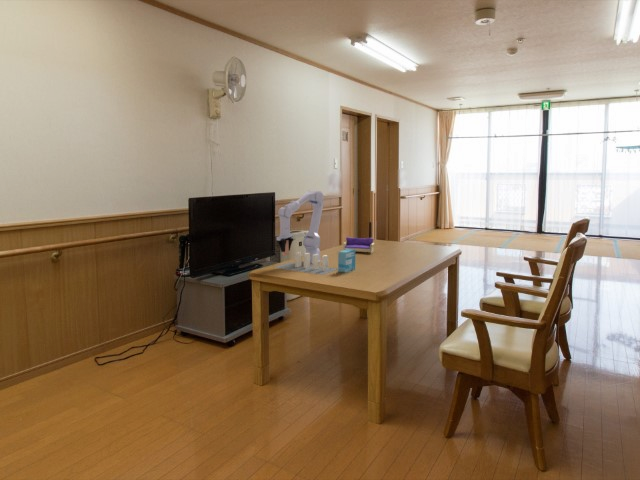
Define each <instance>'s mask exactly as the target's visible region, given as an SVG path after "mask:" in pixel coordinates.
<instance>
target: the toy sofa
mask: <svg viewBox="0 0 640 480" xmlns="http://www.w3.org/2000/svg"><path fill="white" fill-rule="evenodd" d="M345 240H346V241H344V242H342V245H343V250H346V249H352V250H355V252H366V253H367V252H368V253H370V255H371V254H373V253H374V251H375V249H374V246H375V242H374V238H373V237H365V238H361V237H351V236H347V237H346V238H345Z"/></svg>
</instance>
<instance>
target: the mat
mask: <svg viewBox="0 0 640 480" xmlns="http://www.w3.org/2000/svg"><path fill="white" fill-rule="evenodd" d="M272 268H273V269H279V270H287V271H293V272H300V273H309V274H315V275H321V276H324V275H326V274H329V273H332V272H334V271H338V268H332V267H328V270H326V271H321V266H319V269H316V270H312V265H311V264H310V268H307V269H305V268H304V263H302V266H301V267H295V262H286V263H284V264H281V265H277V266H274V267H272Z"/></svg>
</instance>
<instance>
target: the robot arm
mask: <svg viewBox="0 0 640 480" xmlns="http://www.w3.org/2000/svg"><path fill="white" fill-rule="evenodd" d="M324 198H325V195H324V193H323V192H322V191H321V190H318V191H317V190H308V191H306V192H305V193H304V194H303V195H302V196H300V198H298V199H297V200H290V202H289V203H288V204H285V205H284V207H283V206H282V207H280V208H279V209H278V212H277V215H278V217H279V223H280V225H279V228H280V230H279V231H280V232H279V233H280V234H279V235H278V236H276V241H277V244H278V246H279V248H280V251H281V253H282V252H285V246H286V242H287V241H286V240H289V252H290V250H291V246H292V244H293V241H294V238H295V234H294V233H291V217H292V216H293V214H294V213H295V212H296V211H298V210H299V209H300V208H301V207H300V206H302V205H303V204H305V203H307V202H309V203H310V204H311V205H312V206H313V209H312V214H311V220H310V224H309V229H308V232H307V233H306V234H305V235H304V238H303V240H302V244H303V246H304V248H305V254H306V253H310V265H311V264H312V255H315V254H319V263H321V250H320V248H319V247H320V245H321V236H320V235H319V227H320V223H321V218H322V213H323V207H324V200H325V199H324Z"/></svg>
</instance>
